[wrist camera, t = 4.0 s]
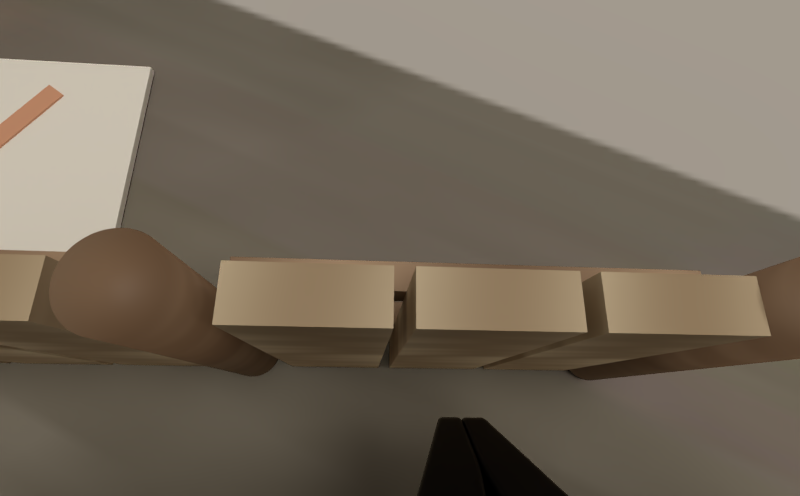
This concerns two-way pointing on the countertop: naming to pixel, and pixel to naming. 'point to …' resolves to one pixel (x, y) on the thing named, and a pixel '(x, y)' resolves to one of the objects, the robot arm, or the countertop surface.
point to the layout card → (66, 149)
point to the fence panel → (509, 315)
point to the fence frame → (114, 308)
